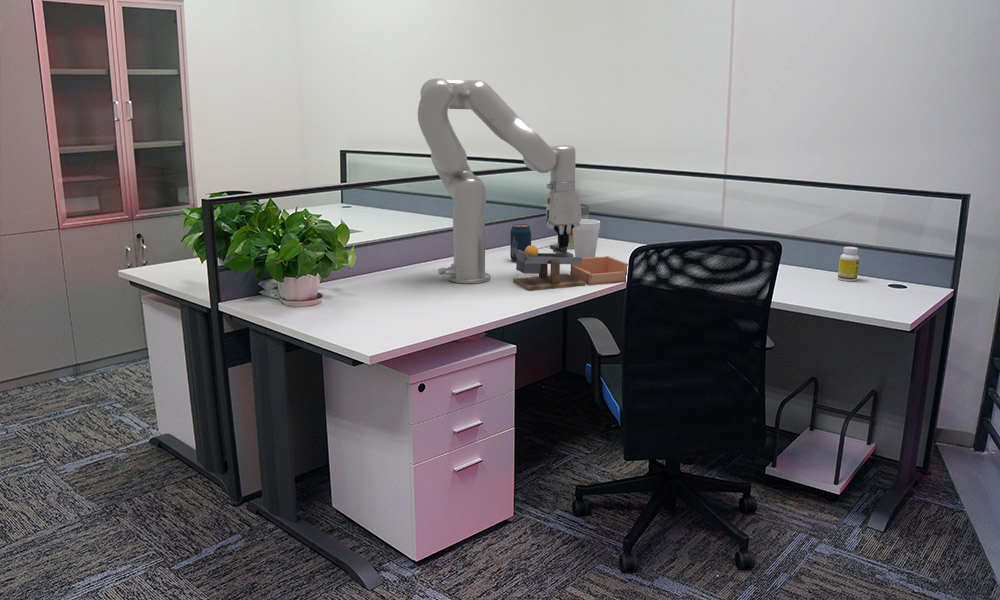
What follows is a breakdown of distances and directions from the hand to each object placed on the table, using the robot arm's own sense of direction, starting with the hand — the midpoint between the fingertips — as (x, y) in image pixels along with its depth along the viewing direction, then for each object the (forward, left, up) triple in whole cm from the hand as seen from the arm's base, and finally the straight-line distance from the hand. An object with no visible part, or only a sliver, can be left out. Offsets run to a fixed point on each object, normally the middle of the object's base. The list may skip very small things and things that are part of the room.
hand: (563, 246), depth 255 cm
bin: (+7, -10, -9) cm, 15 cm away
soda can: (-4, +24, -9) cm, 26 cm away
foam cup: (+17, +18, -9) cm, 26 cm away
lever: (-9, -6, -5) cm, 12 cm away
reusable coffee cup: (+23, +41, -9) cm, 48 cm away
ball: (-15, -10, +1) cm, 18 cm away
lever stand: (-9, -10, -9) cm, 16 cm away
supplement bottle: (+77, -38, -9) cm, 86 cm away
